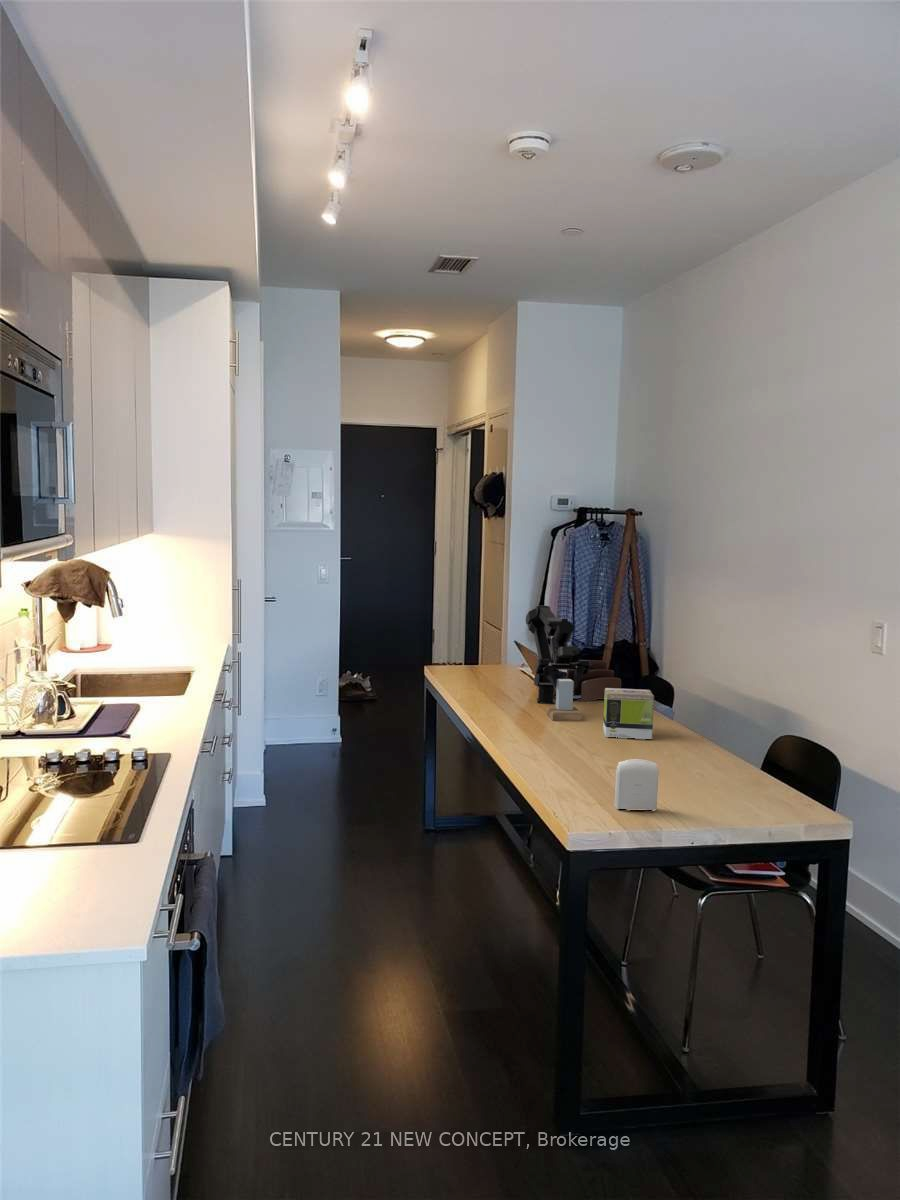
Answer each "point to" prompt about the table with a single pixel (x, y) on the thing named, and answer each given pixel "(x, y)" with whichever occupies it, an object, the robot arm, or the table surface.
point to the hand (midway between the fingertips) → (566, 687)
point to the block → (563, 714)
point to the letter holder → (594, 681)
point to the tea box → (628, 713)
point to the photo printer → (636, 784)
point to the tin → (564, 694)
